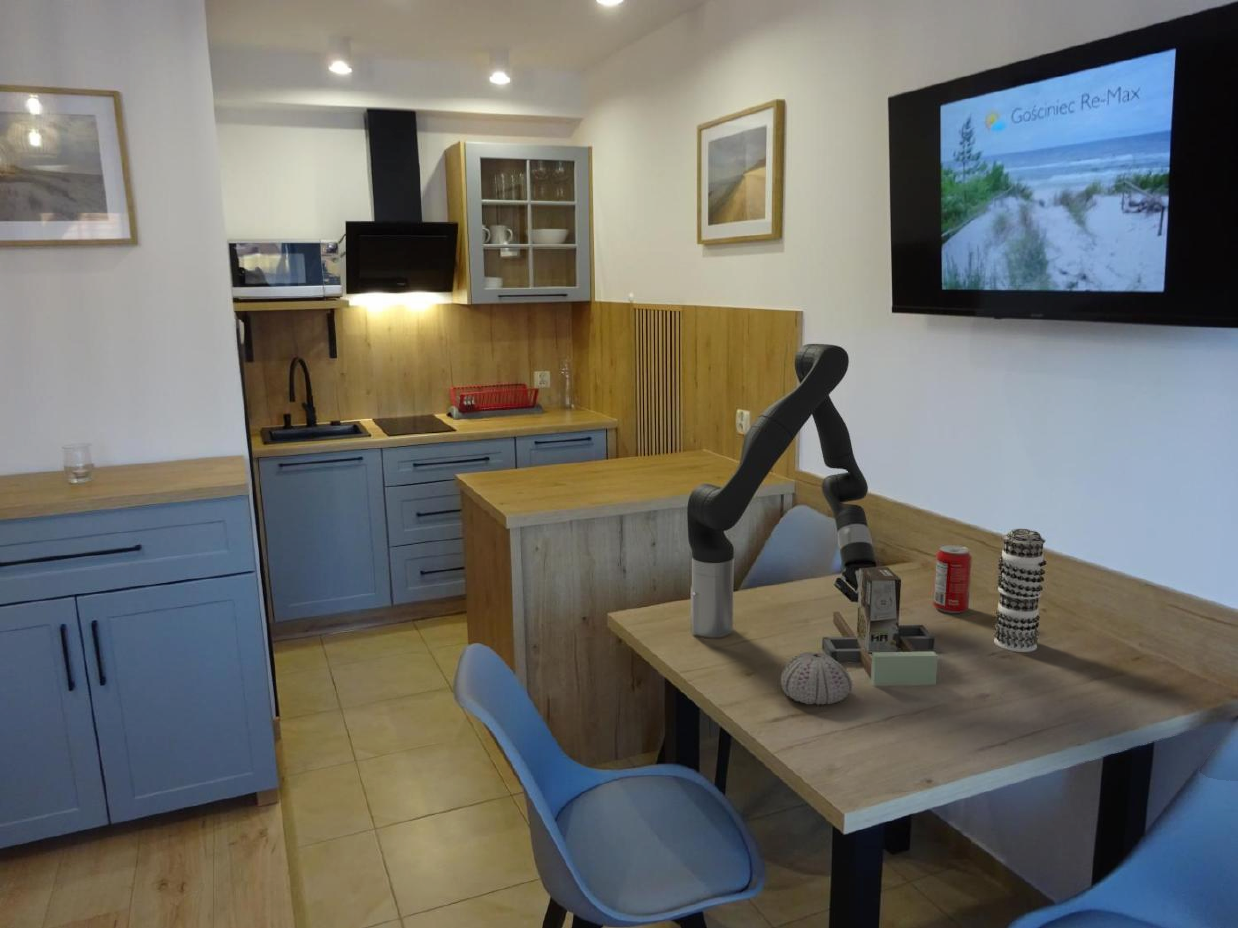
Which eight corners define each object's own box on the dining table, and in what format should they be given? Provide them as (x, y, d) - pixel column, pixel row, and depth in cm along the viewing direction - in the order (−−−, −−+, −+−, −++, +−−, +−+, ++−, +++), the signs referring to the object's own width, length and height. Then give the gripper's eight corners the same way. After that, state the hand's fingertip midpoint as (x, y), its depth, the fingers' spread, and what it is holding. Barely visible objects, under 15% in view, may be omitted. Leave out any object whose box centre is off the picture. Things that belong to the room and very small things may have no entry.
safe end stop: (873, 685, 170) (875, 656, 169) (870, 681, 172) (872, 652, 171) (935, 684, 171) (937, 655, 169) (932, 680, 172) (933, 651, 171)
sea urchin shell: (766, 697, 167) (767, 657, 165) (801, 673, 177) (802, 635, 175) (830, 718, 158) (831, 676, 157) (863, 691, 168) (865, 652, 167)
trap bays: (830, 662, 181) (831, 651, 180) (815, 637, 194) (816, 626, 194) (944, 661, 181) (945, 649, 181) (921, 635, 194) (922, 625, 194)
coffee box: (898, 652, 185) (902, 579, 182) (868, 653, 185) (871, 580, 182) (884, 635, 194) (888, 565, 191) (855, 636, 194) (858, 566, 191)
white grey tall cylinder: (1017, 633, 195) (1026, 524, 190) (1048, 649, 186) (1059, 535, 181) (982, 638, 192) (990, 528, 187) (1013, 655, 184) (1022, 539, 179)
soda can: (928, 611, 209) (932, 550, 206) (938, 601, 215) (941, 542, 212) (963, 617, 204) (967, 555, 202) (971, 607, 211) (976, 547, 208)
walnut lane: (874, 684, 171) (875, 672, 170) (833, 621, 203) (833, 611, 202) (933, 683, 171) (934, 671, 171) (882, 621, 203) (883, 610, 202)
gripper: (830, 540, 200) (843, 611, 191) (888, 539, 200) (904, 610, 191) (824, 556, 206) (835, 625, 197) (880, 555, 207) (894, 624, 197)
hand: (869, 618), depth 194 cm, fingers closed
